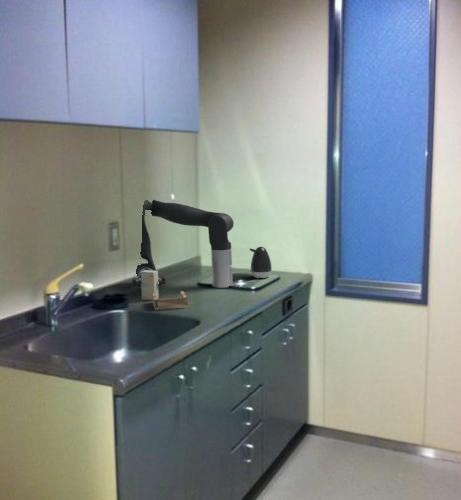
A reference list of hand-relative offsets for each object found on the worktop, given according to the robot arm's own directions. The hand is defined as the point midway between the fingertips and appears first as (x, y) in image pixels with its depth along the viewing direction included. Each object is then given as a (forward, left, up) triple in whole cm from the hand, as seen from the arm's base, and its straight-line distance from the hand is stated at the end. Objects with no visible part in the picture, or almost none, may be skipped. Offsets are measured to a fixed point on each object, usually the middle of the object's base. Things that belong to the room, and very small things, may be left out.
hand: (149, 284), depth 268 cm
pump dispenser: (-50, -38, -7) cm, 63 cm away
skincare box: (0, -1, -7) cm, 7 cm away
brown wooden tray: (-9, +11, -7) cm, 15 cm away
